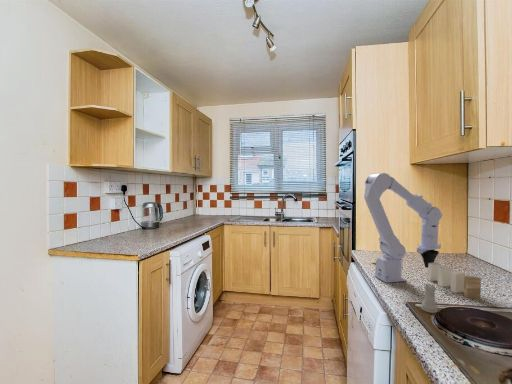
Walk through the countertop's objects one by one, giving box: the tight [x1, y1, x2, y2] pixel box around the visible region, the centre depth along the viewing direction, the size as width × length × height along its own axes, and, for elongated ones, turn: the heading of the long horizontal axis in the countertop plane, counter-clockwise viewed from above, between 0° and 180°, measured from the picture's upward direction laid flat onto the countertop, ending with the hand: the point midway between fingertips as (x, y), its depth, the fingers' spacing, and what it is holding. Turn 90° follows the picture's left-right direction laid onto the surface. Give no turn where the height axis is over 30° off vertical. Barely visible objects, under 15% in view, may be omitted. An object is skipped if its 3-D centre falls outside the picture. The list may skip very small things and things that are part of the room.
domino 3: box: [450, 270, 466, 294], centre depth 99 cm, size 2×4×7 cm, turn 102°
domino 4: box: [463, 275, 482, 300], centre depth 94 cm, size 2×4×7 cm, turn 77°
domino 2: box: [437, 265, 452, 288], centre depth 104 cm, size 2×4×7 cm, turn 102°
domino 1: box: [426, 261, 442, 282], centre depth 109 cm, size 2×4×7 cm, turn 102°
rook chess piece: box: [420, 283, 439, 314], centre depth 84 cm, size 4×4×8 cm
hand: (428, 267), depth 111 cm, fingers closed
